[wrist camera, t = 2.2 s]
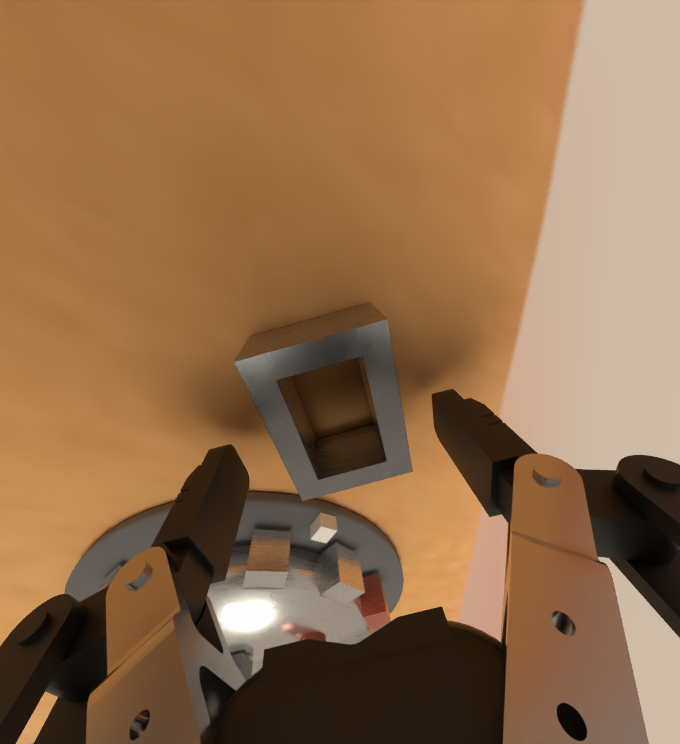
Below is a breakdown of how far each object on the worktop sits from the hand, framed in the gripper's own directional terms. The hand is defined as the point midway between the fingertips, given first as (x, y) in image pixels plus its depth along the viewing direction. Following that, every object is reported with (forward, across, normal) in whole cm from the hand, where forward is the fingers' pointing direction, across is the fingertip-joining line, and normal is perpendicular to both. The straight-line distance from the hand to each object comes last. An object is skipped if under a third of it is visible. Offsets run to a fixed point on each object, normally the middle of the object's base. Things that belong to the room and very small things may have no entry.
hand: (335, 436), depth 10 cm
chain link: (+2, 0, -1) cm, 2 cm away
